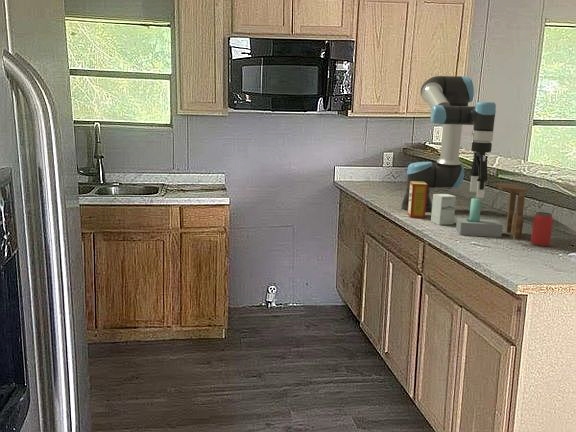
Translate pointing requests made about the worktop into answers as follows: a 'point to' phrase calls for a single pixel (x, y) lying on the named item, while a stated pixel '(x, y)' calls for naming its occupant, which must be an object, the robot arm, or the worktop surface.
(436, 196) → the supplement box
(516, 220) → the wooden t-shaped stand
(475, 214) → the peg
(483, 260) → the worktop surface
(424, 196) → the baking soda box
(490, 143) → the robot arm
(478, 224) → the socket
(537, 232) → the beer can
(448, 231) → the worktop surface
